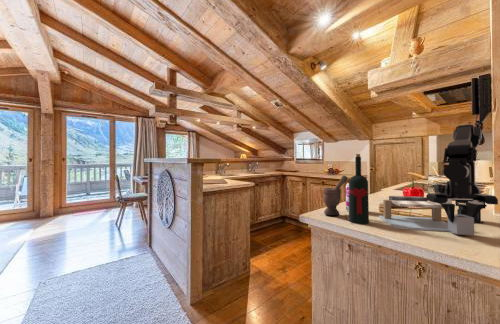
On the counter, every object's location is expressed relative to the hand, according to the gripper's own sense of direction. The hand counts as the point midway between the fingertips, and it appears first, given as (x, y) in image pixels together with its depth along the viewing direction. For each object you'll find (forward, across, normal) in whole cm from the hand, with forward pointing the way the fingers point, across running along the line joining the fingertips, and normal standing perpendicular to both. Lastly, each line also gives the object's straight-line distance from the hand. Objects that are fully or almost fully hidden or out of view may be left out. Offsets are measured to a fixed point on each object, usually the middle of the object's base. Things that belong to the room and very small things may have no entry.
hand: (460, 222), depth 79 cm
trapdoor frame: (+4, +8, -12) cm, 15 cm away
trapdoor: (-4, +8, -18) cm, 20 cm away
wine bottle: (+5, +31, -10) cm, 33 cm away
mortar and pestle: (+5, +39, -24) cm, 46 cm away
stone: (+4, 0, 0) cm, 4 cm away
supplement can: (+5, +28, -34) cm, 44 cm away
